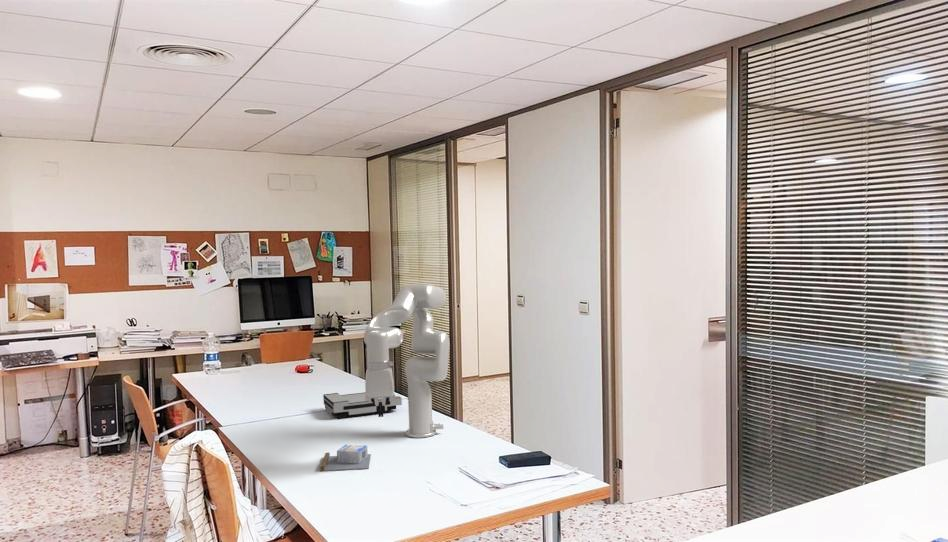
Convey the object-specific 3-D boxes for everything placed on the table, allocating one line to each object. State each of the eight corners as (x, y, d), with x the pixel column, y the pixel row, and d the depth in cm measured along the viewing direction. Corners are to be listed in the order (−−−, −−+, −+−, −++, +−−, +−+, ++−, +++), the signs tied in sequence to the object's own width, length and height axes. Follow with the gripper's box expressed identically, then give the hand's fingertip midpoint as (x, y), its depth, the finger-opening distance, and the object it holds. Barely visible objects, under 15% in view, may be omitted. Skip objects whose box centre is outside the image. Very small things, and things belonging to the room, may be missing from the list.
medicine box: (359, 451, 239) (336, 450, 240) (359, 464, 239) (336, 462, 241) (367, 445, 246) (345, 444, 248) (367, 457, 246) (345, 456, 248)
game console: (401, 412, 317) (401, 395, 317) (334, 421, 304) (333, 403, 303) (388, 403, 336) (387, 387, 336) (323, 411, 323) (323, 394, 322)
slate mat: (370, 455, 250) (370, 454, 250) (368, 469, 234) (368, 467, 234) (326, 457, 249) (326, 456, 249) (321, 471, 233) (321, 470, 233)
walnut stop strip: (329, 457, 249) (329, 452, 249) (324, 471, 233) (324, 466, 233) (325, 457, 249) (325, 452, 248) (320, 471, 233) (320, 466, 233)
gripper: (399, 362, 246) (402, 411, 247) (358, 364, 245) (360, 414, 246) (399, 366, 239) (401, 417, 240) (356, 369, 237) (359, 420, 239)
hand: (381, 415), depth 243 cm, fingers closed
